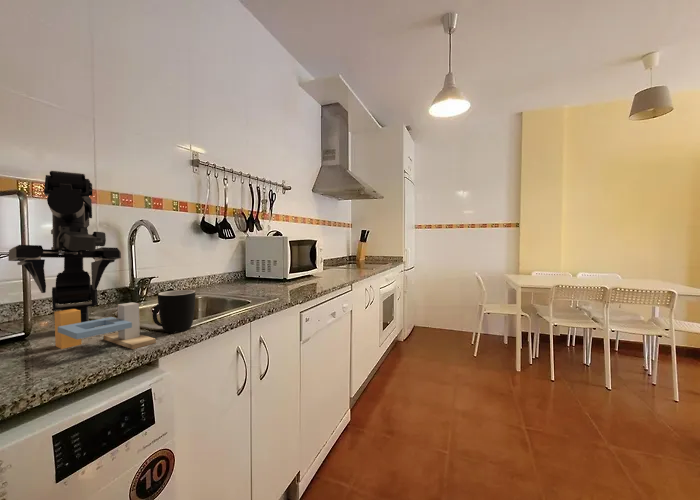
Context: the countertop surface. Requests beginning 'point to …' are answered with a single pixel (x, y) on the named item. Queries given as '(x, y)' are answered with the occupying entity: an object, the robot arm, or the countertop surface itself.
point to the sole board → (130, 340)
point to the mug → (175, 310)
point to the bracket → (108, 324)
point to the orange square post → (66, 319)
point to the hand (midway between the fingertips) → (70, 291)
